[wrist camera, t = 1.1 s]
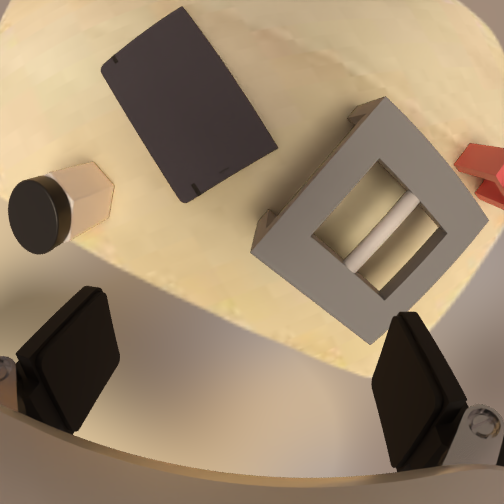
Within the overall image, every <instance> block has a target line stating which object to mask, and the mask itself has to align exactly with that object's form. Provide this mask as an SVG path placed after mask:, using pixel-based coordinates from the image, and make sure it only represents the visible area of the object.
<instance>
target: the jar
mask: <svg viewBox="0 0 504 504" xmlns="http://www.w3.org/2000/svg"><path fill="white" fill-rule="evenodd" d="M113 190H114V185H113V184H112V183H111V181H110V180H109V179H108V178H107V177H106V176H105V175H104V174H103V172H102V171H101V170H100V169H99V168H98V167H97V165H96V164H95V163H94V162H90V163H85V164H81V165H77V166H72V167H68V168H64V169H60V170H56V171H52V172H49V173H47V174H45V175H42V176H38V177H34V178H31V179H27V180H24V181H22V182H20V183H19V184H18V185H17V186H16V187H15V188H14V189H13V191H12V193H11V196H10V199H9V205H8V215H9V222H10V226H11V229H12V231H13V234H14V236H15V237H16V239H17V240H18V242H19V243H20V244H21V246H22V247H24V248H25V249H26V250H27V251H29V252H31V253H34V254H45V253H47V252H49V251H51V250H53V249H54V248H55V247H57V246H58V245H60V244H61V243H64V242H68V241H70V240H72V239H74V238H75V237H77V236H79V235H80V234H82V233H84V232H86V231H87V230H89V229H91V228H92V227H94V226H96V225H98V224H99V223H101V222H103V221H105V220H106V219H108V218H109V212H110V206H111V201H112V195H113Z"/></svg>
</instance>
